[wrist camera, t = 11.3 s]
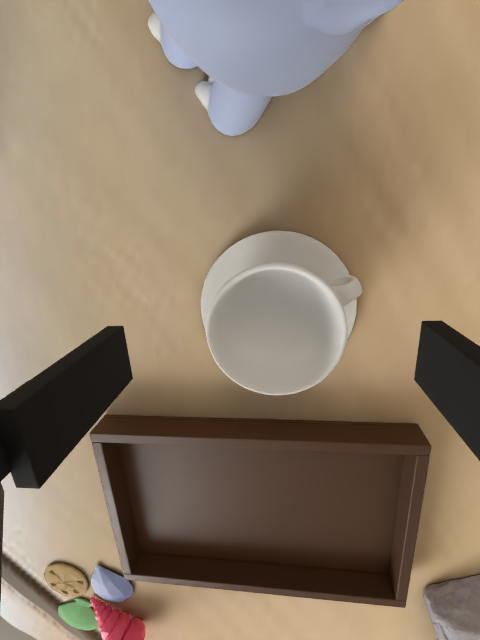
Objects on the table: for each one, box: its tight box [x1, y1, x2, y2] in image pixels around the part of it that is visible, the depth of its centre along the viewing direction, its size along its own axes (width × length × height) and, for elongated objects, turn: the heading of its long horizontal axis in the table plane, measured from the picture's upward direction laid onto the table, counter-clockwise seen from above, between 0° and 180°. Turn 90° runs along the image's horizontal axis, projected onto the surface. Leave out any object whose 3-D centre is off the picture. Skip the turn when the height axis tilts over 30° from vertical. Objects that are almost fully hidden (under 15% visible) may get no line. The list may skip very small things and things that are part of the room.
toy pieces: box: [44, 563, 145, 640], centre depth 32 cm, size 12×11×4 cm
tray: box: [90, 415, 431, 608], centre depth 26 cm, size 16×24×2 cm, turn 93°
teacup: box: [201, 231, 362, 395], centre depth 19 cm, size 10×10×5 cm
